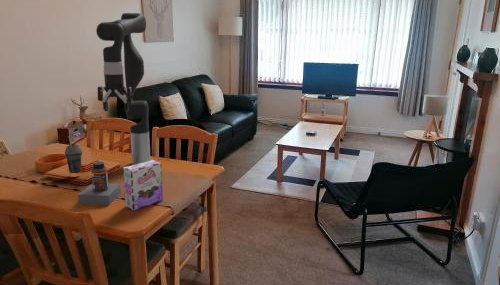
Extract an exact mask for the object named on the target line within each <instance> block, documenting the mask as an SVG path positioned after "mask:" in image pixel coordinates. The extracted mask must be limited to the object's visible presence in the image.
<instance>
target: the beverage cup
mask: <svg viewBox="0 0 500 285" xmlns="http://www.w3.org/2000/svg"><path fill="white" fill-rule="evenodd" d="M68 140H69V145H68V146H66V147H65V151H64V155H65V158H66V162H67V166H68V171H69V173H70V172H71V173H78V172H80V166H81V167H82V156H83V155H82V154H83V151H82V148H81V147H80V146H79V145H77V144H72V140H71V136H70V135H68Z"/></svg>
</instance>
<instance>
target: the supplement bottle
mask: <svg viewBox="0 0 500 285" xmlns="http://www.w3.org/2000/svg"><path fill="white" fill-rule="evenodd" d="M92 165H93V166H92V168H91V169H90V172H91V184H92V188H93V190H94V191H105V190H107V189H108V184H109V180H108V176H109V175H108V168H107V167H106V166H105V162H104V161H95V162H93V164H92Z"/></svg>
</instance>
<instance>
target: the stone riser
mask: <svg viewBox="0 0 500 285" xmlns="http://www.w3.org/2000/svg"><path fill="white" fill-rule="evenodd" d="M121 188H122V187H121V184H120V183H118V184H117V183H108V189H107V190H105V191H94V190H93V188H92V183H91V184H89V185H88V186H87V187H86V188H84V189H83V190H82V191H80V192H79V193H78V194H77V196H78V204H79V205H93V206H95V205H97V206H110V205H112V203H113V202H114V201H115V200H116V199H117V198H118V197H119V196H120V195H121V194H122V190H121Z"/></svg>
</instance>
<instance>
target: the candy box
mask: <svg viewBox="0 0 500 285" xmlns="http://www.w3.org/2000/svg"><path fill="white" fill-rule="evenodd" d="M122 171H123V172H122V173H123V188H124V190H123V191H124V207H126V208H127V209H129V210H130V211H137V210H140V209H143V208H146V207H147V206H151V205H154V204H156V203H159V202H162V201H163V198H164V197H163V180H162V179H163V178H162V174H163V173H162V163H161V162H160V161H157V160H154V159H150V161H148V162H144V163H140V164H136V165H133V164H132V165H129V166H123V167H122Z"/></svg>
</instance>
